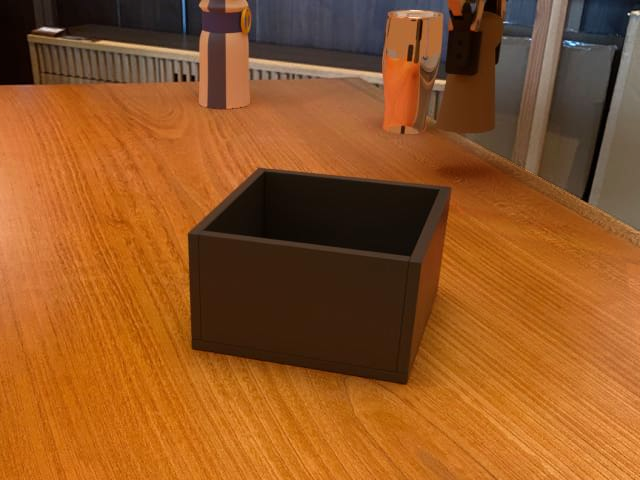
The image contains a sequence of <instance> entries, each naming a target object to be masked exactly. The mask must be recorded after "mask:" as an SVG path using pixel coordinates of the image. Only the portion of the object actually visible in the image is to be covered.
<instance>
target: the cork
mask: <svg viewBox="0 0 640 480" xmlns="http://www.w3.org/2000/svg"><path fill="white" fill-rule="evenodd" d="M472 13H473V10H472ZM503 23H504V22H503V21H502V19H501V17H500V16H499V15H497V14H495V13H491V12H486V11H483V13H482V18H481V22H480V27H479V30H478V31H483V33H482V41H481V49H480V58H479V66H478V72H477V74H476V75H473V76H468V75H457V74H448V73H446V74H447V75H446V79H445V84H444V88H443V91H442V92H443V93H442V95H441V102H440V105H439V110H438V113H437V114H438V115H437V119H436V124H435V127H436V128H437V129H439V130H440V131H441V130H442V131H444V132H447V133H448V132H449V133H454V134H483V133H488V132H491V131H493V130H495V128H496V65H495V48H496V47H497V45H498V44H499V43H500V41H501V42H502V40H501V39H502V38H503V37H504V32H505V31H504V30H505V26H504V25H503Z"/></svg>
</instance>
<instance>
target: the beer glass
mask: <svg viewBox="0 0 640 480" xmlns="http://www.w3.org/2000/svg"><path fill="white" fill-rule="evenodd" d="M443 28H444V14H443V13H442V12H440V11H434V10H425V9H400V10H399V9H397V10H391V11H388V12H387V18H386V25H385V30H384V37H383V44H382V56H381V58H382V59H381V60H382V61H381V62H382V63H381V64H382V65H381V66H382V67H381V68H382V71H381V72H382V84H383V95H384V97H383V98H384V115H383V121H382V125H381V130H383V131H385V132H388V133H392V134H398V135H415V134H421V133H425V132H427V117H428V109H429V105H430V100H431V96H432V93H433V89H434V86H435V83H436V79H437V75H438V72H439V68H440V67H439V66H440V62H441V55H442V47H443V46H442V44H443V30H444V29H443Z"/></svg>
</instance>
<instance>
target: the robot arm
mask: <svg viewBox="0 0 640 480" xmlns="http://www.w3.org/2000/svg"><path fill="white" fill-rule="evenodd" d="M508 1H509V0H446V3H447V5H448V13H449V18H448V23H447V29H448V36H447V46H446V56H445V63H444V64H445V67H444V72H445V73H446V74H457V75H468V76H473V75H476V74H477V72H478V66H479V58H480V49H481V41H482V33H483V31H478V30H479V27H480V22H481V18H482V13H483V11H486V12H491V13H495V14H497V15H499V16H500V17H501V19H502V21H503V25H504V22H505V20H506V14H507V13H506V12H507V2H508ZM471 4H472V5H473V4H474V6H473V8H472V6H471ZM472 11H473V13H472ZM501 47H502V39H501V41H500V43H499V44H498V45H497V47H496V48H495V66H496V65H498V64H499V61H500V56H501V55H500V54H501Z"/></svg>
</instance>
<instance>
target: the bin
mask: <svg viewBox="0 0 640 480" xmlns="http://www.w3.org/2000/svg"><path fill="white" fill-rule="evenodd" d="M452 190H453V188H452V186H446V185H435V184H427V183H426V184H425V183H415V182H408V181H407V182H406V181H398V180H397V181H396V180H387V179H386V180H385V179H377V178H368V177H367V178H366V177H359V176H357V177H356V176H345V175H338V174H327V173H316V172H307V171H298V170H297V171H296V170H287V169H278V168H267V167H266V168H265V167H257V168H256V169H255V170H254V171H253V172H252V173H251V174H250V175H249V176H248V177H246V178H245V179H244V180H243V181H242V182H241V183H240V184H239V185H238V186H237V187H236V188H235V189H234V190H233V191H232V192H230V193H229V194H228V195H227V196H226V197H225V198H224V199H223V200H222V201H221V202H219V203H218V205H216V206H215V207H214V208H213V209H212V210H211V211H210V212H209V213H208V214H206V215H205V217H203V218H202V220H200V221H199V222H198V223H197V224H196V225H195V226H194V227H193V228H191V229H190V230H189V231H188V232H187V250H188V251H187V255H188V276H189V278H188V281H189V282H188V283H189V306H190V307H189V309H190V310H189V311H190V338H191V339H190V340H191V341H190V342H191V349H194V350H200V351H206V352H211V353H218V354H224V355H230V356H236V357H240V358H241V357H242V358H247V359H248V358H249V359H253V360H254V359H255V360H261V361H266V362H271V363H272V362H273V363H278V364H284V365H290V366H295V367H303V368H308V369H314V370H320V371H327V372H332V373H339V374H345V375H351V376H356V377H363V378H368V379H375V380H380V381H385V382H393V383H398V384H405V385H407V384H408V381H409V378H410V376H411V372H412V370H413V367H414V364H415V360H416V357H417V354H418V351H419V348H420V345H421V342H422V339H423V336H424V332H425V330H426V327H427V324H428V321H429V319H430V315H431V312H432V310H433V306H434V303H435V300H436V298H437V294H438V291H439V284H440V276H441V270H442V261H443V254H444V249H445V248H444V246H445V242H446V241H445V240H446V233H447V226H448V219H449V212H450V205H451V198H452V197H451V195H452Z"/></svg>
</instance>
